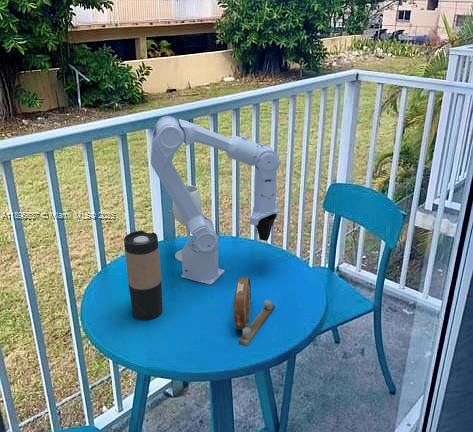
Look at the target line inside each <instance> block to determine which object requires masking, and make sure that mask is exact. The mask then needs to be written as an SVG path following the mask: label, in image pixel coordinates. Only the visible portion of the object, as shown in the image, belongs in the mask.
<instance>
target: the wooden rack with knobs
mask: <svg viewBox="0 0 473 432" xmlns="http://www.w3.org/2000/svg"><path fill="white" fill-rule="evenodd" d="M263 302H264V303H263V304H264V306H263V308H262V309H261V311H260V312H259V313H258V314H257V316H256V317H255V319H254V320H253V321H252V322H251V324H250V325H248V327H245V328H243V329H242V335H241V336H240V338H239V340H238V344H240V345H243V346H245V347H248V345H249V344H250V343H251V342H252V339H254V337H255V336H256V335H257V333H258V332H259V330H260V329H261V327H262V326H263V324H264V323H265V322H266V321H267V319H268V318H269V317H270V315H271V314H272V312H273V311H274V310H275V309H274V308H276V305H275V304H273V301H272V300H270V299H265V300H264V301H263Z"/></svg>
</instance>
